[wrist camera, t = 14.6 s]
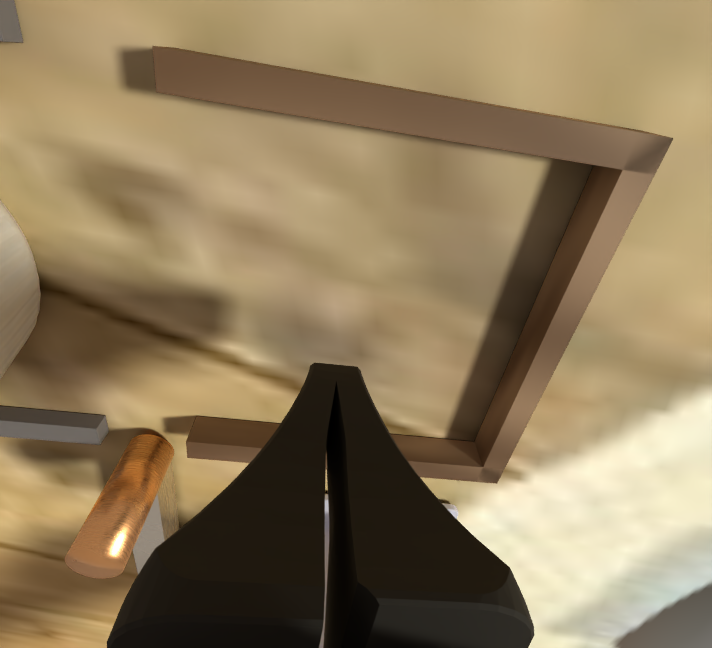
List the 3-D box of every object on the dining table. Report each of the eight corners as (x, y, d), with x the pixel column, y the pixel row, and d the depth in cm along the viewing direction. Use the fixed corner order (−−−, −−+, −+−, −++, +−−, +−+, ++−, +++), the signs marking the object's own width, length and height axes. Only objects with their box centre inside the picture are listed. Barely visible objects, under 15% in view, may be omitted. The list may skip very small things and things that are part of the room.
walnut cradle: (487, 457, 21) (496, 483, 20) (197, 431, 19) (187, 457, 18) (641, 130, 13) (673, 138, 12) (173, 47, 12) (152, 46, 10)
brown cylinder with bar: (188, 578, 26) (155, 689, 21) (154, 576, 25) (113, 687, 21) (173, 434, 19) (120, 550, 15) (127, 430, 19) (59, 546, 14)
